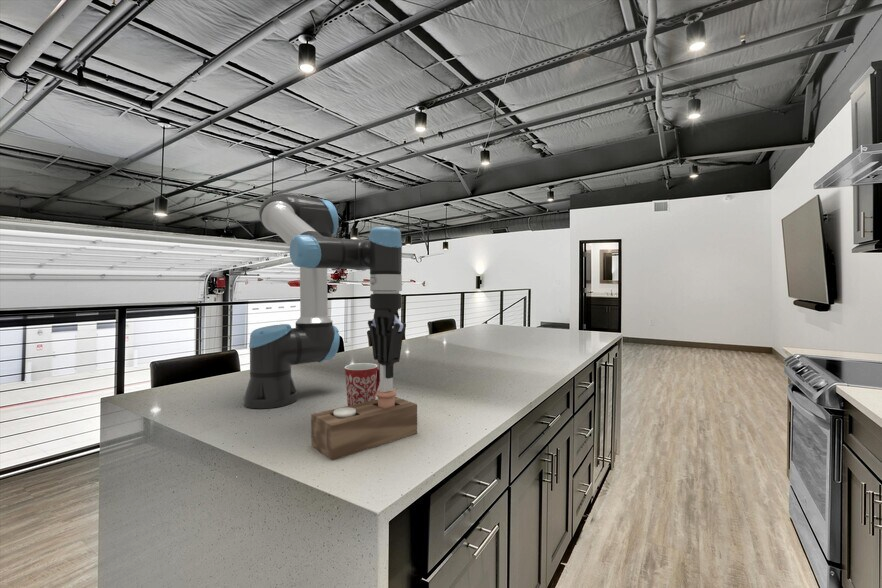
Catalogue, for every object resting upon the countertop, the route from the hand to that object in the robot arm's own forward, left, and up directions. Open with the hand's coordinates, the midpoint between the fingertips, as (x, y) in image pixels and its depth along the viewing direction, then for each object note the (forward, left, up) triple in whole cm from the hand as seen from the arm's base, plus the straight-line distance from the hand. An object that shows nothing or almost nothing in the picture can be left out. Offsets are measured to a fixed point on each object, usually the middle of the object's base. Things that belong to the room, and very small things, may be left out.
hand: (386, 390), depth 94 cm
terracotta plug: (0, 0, -7) cm, 7 cm away
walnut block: (0, -5, -10) cm, 12 cm away
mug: (-17, +5, -11) cm, 21 cm away
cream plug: (0, -11, -9) cm, 14 cm away
